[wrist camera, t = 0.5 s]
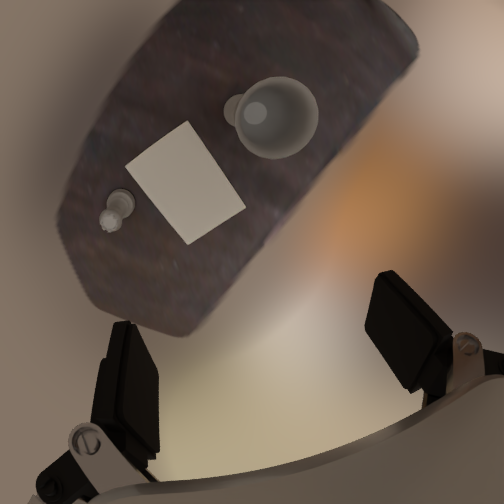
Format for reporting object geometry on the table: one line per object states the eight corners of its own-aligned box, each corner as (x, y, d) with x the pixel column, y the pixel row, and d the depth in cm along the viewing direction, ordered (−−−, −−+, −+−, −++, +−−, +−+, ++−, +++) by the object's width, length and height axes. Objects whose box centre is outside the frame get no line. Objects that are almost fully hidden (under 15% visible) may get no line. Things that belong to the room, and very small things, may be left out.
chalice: (242, 144, 38) (278, 175, 23) (206, 115, 35) (216, 124, 20) (275, 108, 36) (333, 115, 21) (240, 77, 33) (277, 59, 18)
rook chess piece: (111, 185, 37) (95, 203, 30) (138, 191, 38) (127, 211, 32) (106, 212, 39) (91, 235, 32) (132, 218, 40) (122, 242, 34)
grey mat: (125, 165, 36) (124, 166, 36) (187, 120, 35) (187, 120, 34) (187, 243, 45) (187, 245, 44) (245, 206, 43) (246, 207, 43)
